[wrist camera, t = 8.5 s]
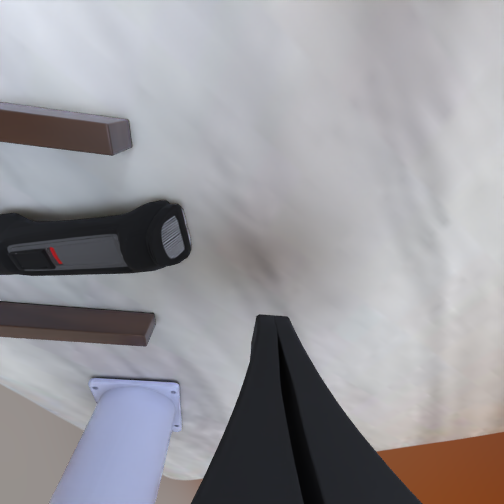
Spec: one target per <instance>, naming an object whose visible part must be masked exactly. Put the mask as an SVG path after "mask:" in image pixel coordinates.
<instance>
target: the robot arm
mask: <svg viewBox="0 0 504 504" xmlns="http://www.w3.org/2000/svg"><path fill="white" fill-rule="evenodd" d="M88 385H89V387H90V389H91V392H92V394H93V396H94V398H95V401H96V403H97V406H96V408H95V410H94V412H93V414H92V416H91V418H90V420H89V422H88V424H87V426H86V428H85V430H84V432H83V434H82V437H81V439H80V441H79V443H78V445H77V447H76V449H75V451H74V453H73V455H72V457H71V459H70V461H69V463H68V465H67V467H66V469H65V471H64V473H63V475H62V477H61V479H60V481H59V483H58V485H57V488H56V489H55V491H54V494H53V495H52V497H51V499H50V502H49V504H155V501H156V498H157V494H158V489H159V485H160V481H161V477H162V472H163V468H164V463H165V459H166V455H167V450H168V446H169V442H170V437H171V433H172V432H179V431H181V429H182V419H181V404H180V390H179V384H177V383H174V382H156V381H139V380H121V379H103V378H92V379H90V381H89V383H88ZM191 504H422V503H421V502H420V501H419V500H418V499H417V498H416V496H415V495H414V494H412V492H411V491H410V490H409V489H408V488H407V487H406V486H405V485H404V483H403V482H402V481H401V480H400V479H399V478H398V477H397V476H396V475H395V473H394V472H393V471H392V470H391V469H390V468H389V467H388V466H387V465H386V463H385V462H384V461H383V460H382V458H381V457H380V456H379V455H378V454H377V452H376V451H375V450H374V449H373V448H372V446H371V445H370V444H369V443H368V442H367V440H366V439H365V438H364V437H363V436H362V434H361V433H360V432H359V430H358V429H357V428H356V427H355V425H354V424H353V423H352V421H351V420H350V419H349V417H348V416H347V415H346V413H345V412H344V411H343V409H342V408H341V406H340V405H339V404H338V402H337V401H336V399H335V398H334V397H333V395H332V394H331V392H330V391H329V389H328V388H327V386H326V384H325V383H324V381H323V380H322V378H321V377H320V375H319V373H318V372H317V370H316V369H315V367H314V365H313V363H312V362H311V360H310V358H309V356H308V355H307V353H306V351H305V349H304V347H303V346H302V344H301V342H300V340H299V338H298V336H297V334H296V332H295V330H294V328H293V326H292V323H291V321H290V319H289V318H288V317H286V316H273V315H260V314H259V315H258V316H256V322H255V327H254V332H253V337H252V342H251V356H250V363H249V366H248V370H247V373H246V376H245V379H244V382H243V385H242V388H241V391H240V394H239V397H238V399H237V402H236V405H235V407H234V410H233V412H232V415H231V417H230V420H229V422H228V425H227V427H226V430H225V432H224V434H223V437H222V439H221V441H220V443H219V446H218V448H217V450H216V452H215V454H214V457H213V459H212V461H211V463H210V465H209V467H208V470H207V472H206V474H205V476H204V478H203V481H202V482H201V484H200V486H199V489H198V490H197V492H196V494H195V496H194V498H193V500H192V502H191Z"/></svg>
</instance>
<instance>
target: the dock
mask: <svg viewBox="0 0 504 504" xmlns="http://www.w3.org/2000/svg"><path fill="white" fill-rule="evenodd" d="M0 142H7V143H15V144H23V145H31V146H39V147H47V148H55V149H63V150H71V151H79V152H87V153H95V154H103V155H111V156H113V155H115V154H117V153H120V152H122V151H124V150H127V149H129V148H131V147H132V142H131V134H130V127H129V121H128V120H127V119H121V118H114V117H106V116H99V115H92V114H84V113H77V112H70V111H62V110H55V109H48V108H40V107H33V106H26V105H18V104H11V103H3V102H0ZM155 325H156V324H155V316H154V314H151V313H138V312H125V311H112V310H99V309H86V308H74V307H61V306H48V305H35V304H22V303H9V302H0V337H11V338H26V339H41V340H56V341H71V342H86V343H101V344H116V345H131V346H147V344H148V342H149V339H150V337H151V334H152V332H153V329H154V327H155Z"/></svg>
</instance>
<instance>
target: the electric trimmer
mask: <svg viewBox="0 0 504 504" xmlns="http://www.w3.org/2000/svg"><path fill="white" fill-rule="evenodd" d="M186 226H187V224H186V219H185V215H184V211H183V209H182V208H181V206H180V205H178V204H169V203H168V202H167V201H165V200H162V201H156V202H150V203H147V204H144V205H142V206H140V207H139V208H137V209H135V210H133V211H131V212H129V213H126V214H122V215H115V216H108V217H100V218H90V219H79V220H67V221H32V220H29V219H27V218H25V217H23V216H21V215H19V214H16V213H9V214H2V215H0V275H13V274H20V275H30V276H46V275H86V274H122V273H138V272H147V271H154V270H158V269H161V268H164V267H166V266H171V265H175V264H178V263H180V262H181V261H183V260H184V259H186V258H187V257H188V256H189V254H190V251H191V245H190V244H191V242H190V241H191V239H190V235H189V233H188V232H189V230H188V228H186Z"/></svg>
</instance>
